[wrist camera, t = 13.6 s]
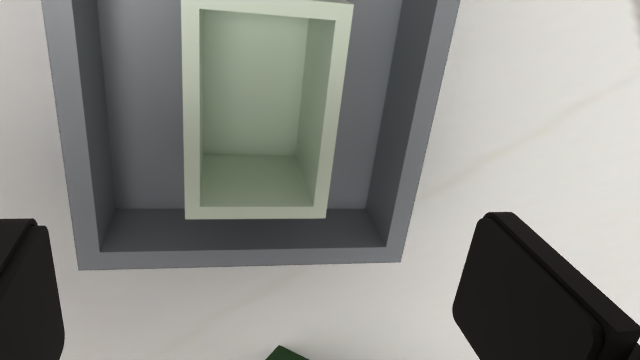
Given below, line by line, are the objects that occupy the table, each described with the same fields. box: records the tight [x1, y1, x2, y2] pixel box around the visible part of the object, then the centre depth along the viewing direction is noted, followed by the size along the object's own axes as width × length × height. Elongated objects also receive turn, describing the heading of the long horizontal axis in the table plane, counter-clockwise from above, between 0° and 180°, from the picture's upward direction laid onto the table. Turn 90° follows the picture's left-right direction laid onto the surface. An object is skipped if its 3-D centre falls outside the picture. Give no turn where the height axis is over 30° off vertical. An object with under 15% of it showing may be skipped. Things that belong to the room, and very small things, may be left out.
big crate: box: [41, 0, 460, 270], centre depth 22 cm, size 17×16×5 cm
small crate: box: [181, 0, 354, 219], centre depth 21 cm, size 9×6×6 cm, turn 174°
